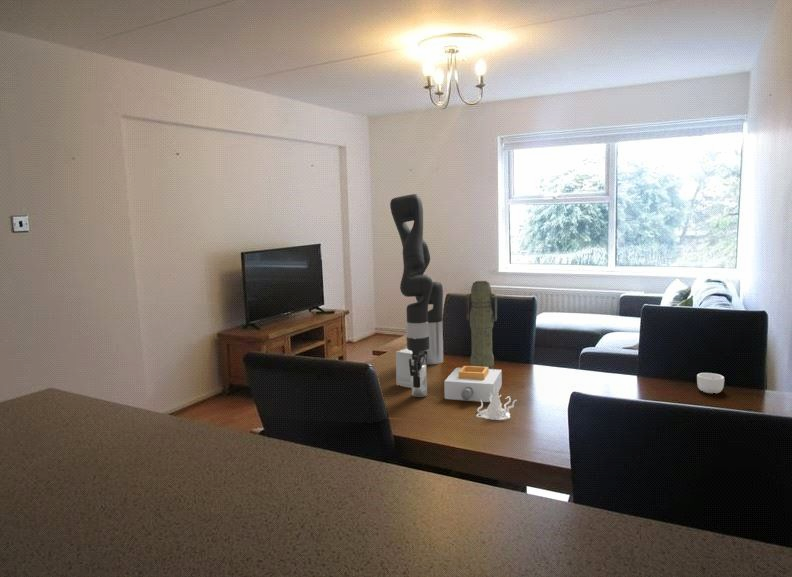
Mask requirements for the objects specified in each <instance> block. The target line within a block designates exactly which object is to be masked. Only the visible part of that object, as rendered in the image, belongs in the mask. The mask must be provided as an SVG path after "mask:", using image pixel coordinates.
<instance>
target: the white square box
mask: <svg viewBox="0 0 792 577" xmlns="http://www.w3.org/2000/svg"><path fill="white" fill-rule="evenodd" d="M502 371H503V370H502V369H496V368H495V369H494V368H493V369H489V367H480V366H471V365H462V367H461V366H460V367H459V366H458V367H455V369H453V370H452V372H451V373H450V374H449V375H448V376H447V378H445V380H444V383H443V384H444V385H443V386H444V400H455V401H467V402H470V401H471V402H480V403H481V401H480V399H481V400H482V403H491V402H490V400H489V397H490V396H491V395H490V393H491V394H492V397H493V395H494V391H495V390H496V386H497V391H498V392H500V390H501V388H502V386H503V383H502V382H503V380H502V379H503V376H502V373H503V372H502ZM491 400H492V398H491Z"/></svg>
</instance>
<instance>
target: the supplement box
mask: <svg viewBox="0 0 792 577" xmlns="http://www.w3.org/2000/svg"><path fill="white" fill-rule="evenodd" d="M411 355H412V351H411V350H408V349H407V347H406V348H403V349H400V350H397V351H395V377H396V378H395V379H396V382H395V383H396V386H399V385H400V387H404V388H409V389H410V388H411V389H412V376H410V367H409V359H411Z"/></svg>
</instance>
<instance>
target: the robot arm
mask: <svg viewBox="0 0 792 577" xmlns="http://www.w3.org/2000/svg"><path fill="white" fill-rule="evenodd" d="M389 202H390V203H389V207H390V212H391V215H392V218H393V222H394V224H395V227H396V229H397V231H398V235H399V237H400V238H399V239H400V242H401V244H402V246H401V247H402V260H403V261H402V262H403V269H402V270H403V272H402V275H401V276H402V277H401V280H400V284H399V285H400V286H399V288H400V292H401V294H402V295H403V297H406V298H407V297H413V298H415V300H416V302H413V303H409V304H408V305H406V334H405V335H406V348H407V349H408V350H411V351H412V355H411V359H409V367H410V376H413V387H414V388H419V387H420V370H421V369H422V364H424V365H426V369H427V368H428V365H438V364H442V363H444V337H443V335H444V333H443V332H444V330H443V327H444V326H443V302H444V301H443V299H444V289H443V284H442V283H441V281H433V279H432V278H431V276H430V275H428V274H424V273H425V272H426V270H427V268H428V267H429V265H430V261H431V255H430V250H429V246H428V244H427V242H426V241H425V239H424V208H423V203H422V199H421V197H420V195H419V194H417V193H412V194H407V195H401V196H397V197H394V198H391V200H390V201H389ZM412 221H413V225H412V227H411V228H410V227H409V225H408V223H409V222H412ZM429 305H432V308H431V309H430V310H428V309H429ZM418 366H419V367H418ZM415 371H416V372H415Z"/></svg>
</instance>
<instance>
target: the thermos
mask: <svg viewBox="0 0 792 577" xmlns="http://www.w3.org/2000/svg"><path fill="white" fill-rule="evenodd" d="M470 289H471V290H470V293H468V294H467V295H466V296H465V298H464V299H465V311H466V312H465V319H466V320H467V321H468V322H469V327H470V330H471V331H470V332H471V334H470V335H471V338H470V339H471V355H470V358H469V360H470V361H469V362H470V363H469V364H470V365H469V366H480V367H489V369H494V366H495V357H494V354H493V328H494V323H495V322H497V320H498V296H497V295H496V294H495V293H492V287H491V285H490V282H489V281H487V280H477V281H476V280H475V281H474V282H472V286H471V288H470ZM492 297H493V298H494V312H493V308H492ZM470 298H471V299H470ZM470 302H471V306H470Z"/></svg>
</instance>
